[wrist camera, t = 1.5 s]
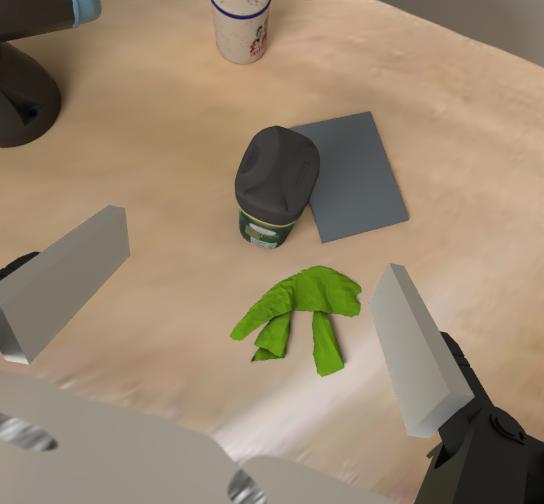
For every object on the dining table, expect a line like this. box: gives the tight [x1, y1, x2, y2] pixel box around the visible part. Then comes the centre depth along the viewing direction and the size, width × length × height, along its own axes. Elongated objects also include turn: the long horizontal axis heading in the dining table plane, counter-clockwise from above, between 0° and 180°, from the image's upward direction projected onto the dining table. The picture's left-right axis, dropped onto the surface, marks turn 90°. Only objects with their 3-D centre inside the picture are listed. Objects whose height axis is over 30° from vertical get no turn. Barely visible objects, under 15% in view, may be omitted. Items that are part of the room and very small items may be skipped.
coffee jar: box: [235, 126, 320, 249], centre depth 35 cm, size 10×8×19 cm
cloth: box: [230, 266, 362, 377], centre depth 41 cm, size 20×22×2 cm
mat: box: [288, 112, 409, 243], centre depth 46 cm, size 20×15×1 cm
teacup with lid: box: [211, 0, 271, 64], centre depth 43 cm, size 12×9×12 cm
